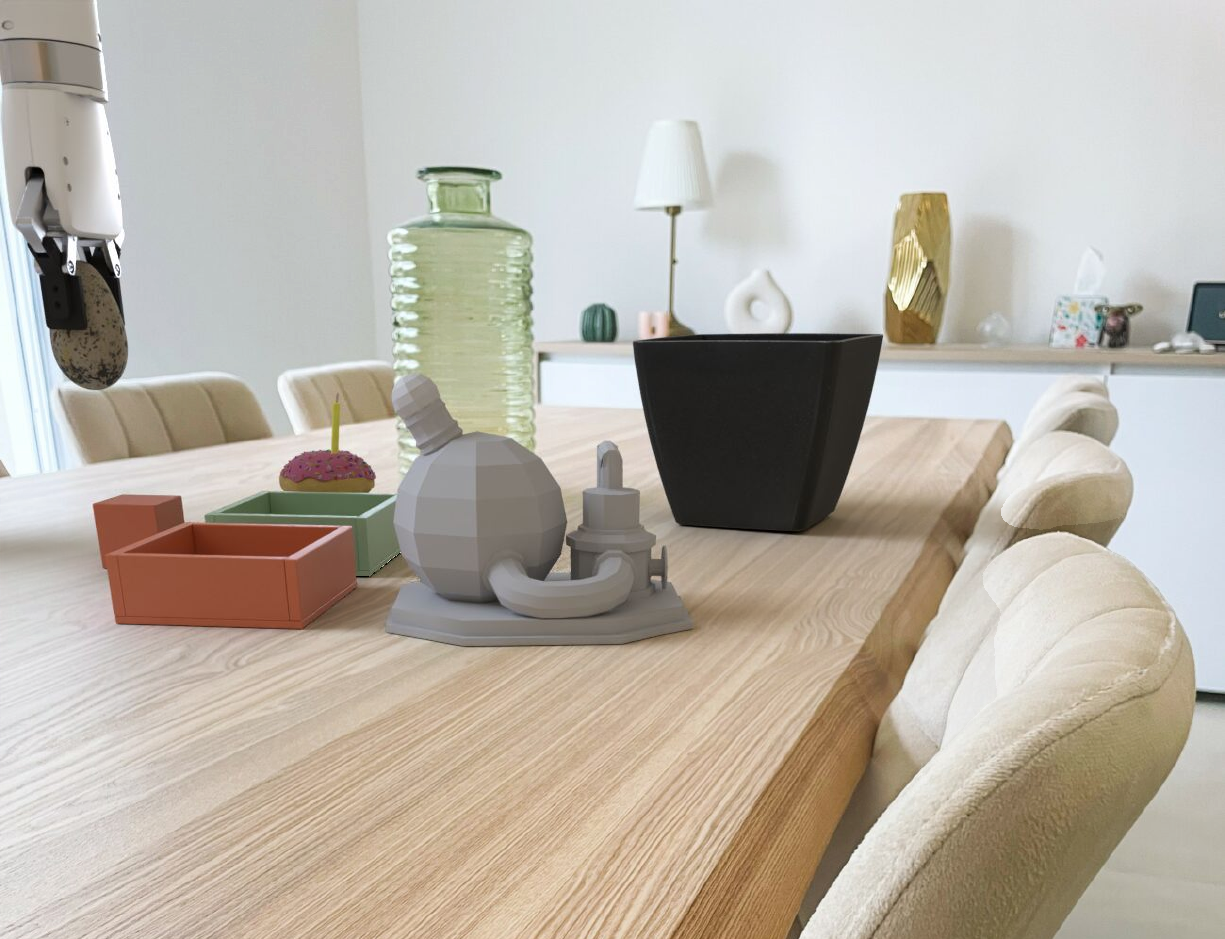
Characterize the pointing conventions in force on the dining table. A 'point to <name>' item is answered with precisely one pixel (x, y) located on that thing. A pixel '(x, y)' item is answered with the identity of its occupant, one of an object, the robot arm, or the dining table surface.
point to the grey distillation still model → (518, 543)
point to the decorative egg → (93, 337)
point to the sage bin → (325, 518)
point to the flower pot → (755, 423)
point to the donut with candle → (328, 468)
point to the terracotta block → (134, 519)
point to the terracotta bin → (232, 575)
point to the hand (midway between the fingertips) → (87, 326)
